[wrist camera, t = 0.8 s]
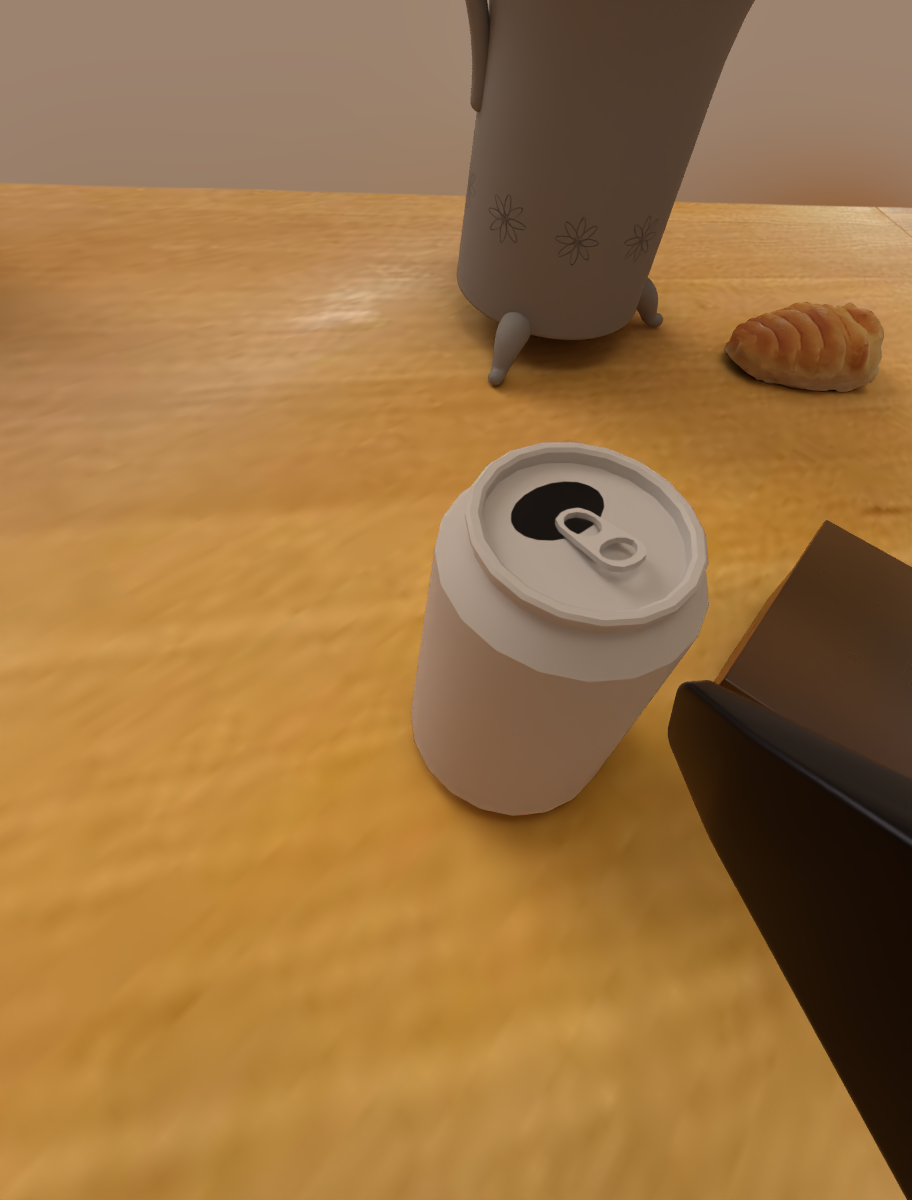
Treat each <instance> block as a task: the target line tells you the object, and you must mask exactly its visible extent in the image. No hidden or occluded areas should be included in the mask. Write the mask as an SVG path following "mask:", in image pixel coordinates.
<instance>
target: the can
mask: <svg viewBox="0 0 912 1200" xmlns="http://www.w3.org/2000/svg"><path fill="white" fill-rule="evenodd" d="M707 566H708V553H707V542H706V534H705V532H704V530H703V528H702V526H701V524H700V522H699V520H698V518H697V516H696V514H695V511H694V509H693V507H692V506H691V505H690V504H689V503H688V502H687V501H686V500H685V499H684V497H683V496H682V495H681V494H680V493H679V492H678V491H677V490H676V489H675V488H674V486H673V485H672V484H671V483H670V482H669V481H668V480H666V479H665V478H663V477H662V476H660V475H659V474H657V473H656V472H654V471H653V470H652V469H650V468H649V467H647V466H646V465H644V464H643V463H641V462H639V461H637V460H634V459H632V458H630V457H627V456H625V455H622V454H620V453H618V452H615V451H613V450H611V449H607V448H602V447H597V446H592V445H587V444H582V443H577V442H555V443H539V444H535V445H531V446H527V447H523V448H519V449H516V450H512V451H510V452H508V453H507V454H505V455H503V456H502V457H500V458H498V459H497V460H495V461H494V462H492V463H490V464H489V465H487V466H486V468H485V469H484V470H483V471H482V473H481V474H480V475H479V477H478V478H477V479H476V481H475V482H474V483H473V485H472V486H471V487H470V488H468V489H467V490H465V491H463V492H462V493H461V494H460V495H459V497H458V498H457V499H456V500H455V502H454V503H453V504H452V506H451V507H450V508H449V510H448V511H447V512H446V514H445V515H444V516H443V517H442V521H441V525H440V529H439V533H438V537H437V541H436V545H435V550H434V557H433V564H432V570H431V577H430V584H429V591H428V598H427V605H426V612H425V619H424V626H423V633H422V639H421V646H420V653H419V660H418V667H417V674H416V681H415V688H414V695H413V701H412V708H411V717H412V725H413V733H414V741H415V743H416V745H417V747H418V749H419V751H420V753H421V755H422V757H423V759H424V762H425V764H426V766H427V768H428V769H429V770H430V771H431V773H432V774H433V775H434V776H435V777H436V778H437V779H438V780H439V781H440V782H441V783H442V784H443V785H444V786H445V787H446V788H447V789H448V790H449V791H450V792H451V793H452V794H454V795H456V796H458V797H460V798H461V799H463V800H465V801H467V802H469V803H470V804H472V805H474V806H476V807H478V808H480V809H482V810H487V811H492V812H497V813H502V814H507V815H512V816H517V815H526V814H535V813H544V812H547V811H550V810H552V809H554V808H556V807H558V806H560V805H562V804H564V803H566V802H568V801H570V800H572V799H574V798H575V797H576V796H577V795H578V794H579V793H580V791H581V790H582V789H583V788H584V787H585V786H586V785H587V784H588V783H589V782H590V781H591V780H592V779H593V778H594V776H595V775H596V774H597V772H598V771H599V770H600V768H601V767H602V765H603V764H604V763H605V761H606V760H607V759H608V757H609V756H610V755H611V753H612V752H613V751H614V749H615V748H616V747H617V745H618V744H619V742H620V741H621V740H622V738H623V737H624V736H625V734H626V733H627V732H628V730H629V729H630V728H631V726H632V725H633V724H634V722H635V721H636V719H637V718H638V717H639V715H640V714H641V713H642V711H643V710H644V709H645V707H646V706H647V705H648V703H649V702H650V701H651V699H652V698H653V697H654V695H655V694H656V692H657V691H658V690H659V688H660V687H661V686H662V684H663V683H664V682H665V680H666V679H667V678H668V676H669V675H670V674H671V672H672V671H673V669H674V668H675V667H676V665H677V664H678V663H679V661H680V660H681V659H682V657H683V656H684V655H685V653H686V652H687V651H688V649H689V648H690V646H691V645H692V644H693V642H694V641H695V640H696V638H697V637H698V634H699V632H700V629H701V626H702V623H703V620H704V617H705V615H706V612H707V609H708V606H709V602H708V590H707V578H706V568H707Z"/></svg>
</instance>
